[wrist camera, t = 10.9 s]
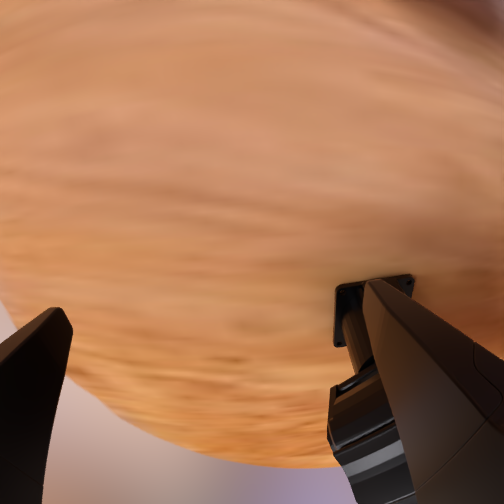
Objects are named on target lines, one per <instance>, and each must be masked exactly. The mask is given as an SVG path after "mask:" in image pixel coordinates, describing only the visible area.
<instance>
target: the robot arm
mask: <svg viewBox="0 0 504 504" xmlns="http://www.w3.org/2000/svg"><path fill="white" fill-rule="evenodd" d="M408 280H409V281H408ZM407 281H408V282H407ZM414 282H415V280H414V278H413V277H412V275H410V274H408V275H401V276H395V277H389V278H382V279H376V280H369V281H362V282H356V283H349V284H342V285H339V286H337V287H336V289H335V305H334V328H333V344H334V346H335V347H345V346H347V348H348V352H349V355H350V358H351V362H352V365H353V369H354V372H355V375H354V376H352V377H351V378H349V379H347V380H346V381H344V382H342V383H341V384H339V385H335V386H333V387H332V388H330V400H329V412H328V424H327V440H328V442H329V444H330V447H331V449H332V451H333V455H334V457H335V458H336V460H337V461H338V462H339V464H340V465H341V466H342V468H343V470H344V472H345V474H346V476H347V477H348V480H349V482H350V485H351V488H352V491H353V493H354V497H355V500H356V502H357V503H358V504H504V361H503V360H502V359H500V358H498V357H497V356H496V355H494V354H493V353H491V352H490V351H488V350H487V349H485V348H484V347H482V346H481V345H479V344H478V343H477V342H474V341H473V340H472V339H471V338H469V337H468V336H466V335H465V334H463V333H462V332H461V331H459V330H458V329H456V328H455V327H453V326H452V325H450V324H449V323H447V322H446V321H444V320H443V319H441V318H440V317H438V316H437V315H435V314H434V313H432V312H431V311H429V310H428V309H426V308H425V307H423V306H422V305H420V304H419V303H417V302H416V301H414V300H413V299H411V297H412V292H413V287H414ZM342 290H344V291H343V292H342V293H340V291H342ZM72 336H73V328H72V325H71V323H70V322H69V320H68V318H67V316H66V314H65V313H64V311H63V309H62V308H60V307H51V308H48V309H47V310H46V311H44V312H43V313H41V314H40V315H39V316H37V317H36V318H34V319H33V320H32V321H30V322H29V323H28V324H26V325H25V326H23V327H22V328H21V329H19V330H18V331H17V332H15V333H14V334H13V335H11V336H10V337H9V338H8V339H6V340H5V341H3V342H2V343H1V344H0V504H42V495H43V484H44V475H45V468H46V462H47V456H48V450H49V444H50V439H51V433H52V428H53V423H54V418H55V414H56V410H57V405H58V401H59V397H60V393H61V389H62V385H63V381H64V377H65V372H66V367H67V362H68V356H69V351H70V346H71V341H72Z"/></svg>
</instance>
